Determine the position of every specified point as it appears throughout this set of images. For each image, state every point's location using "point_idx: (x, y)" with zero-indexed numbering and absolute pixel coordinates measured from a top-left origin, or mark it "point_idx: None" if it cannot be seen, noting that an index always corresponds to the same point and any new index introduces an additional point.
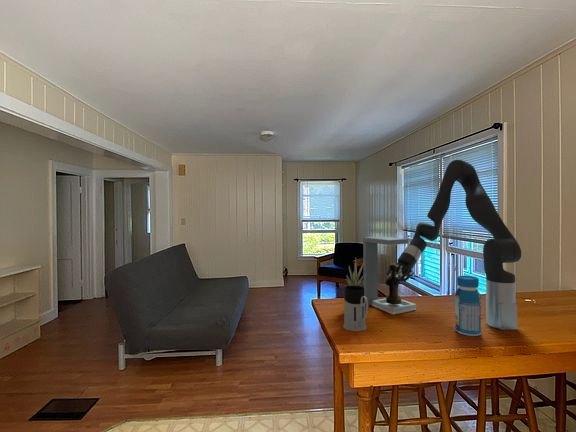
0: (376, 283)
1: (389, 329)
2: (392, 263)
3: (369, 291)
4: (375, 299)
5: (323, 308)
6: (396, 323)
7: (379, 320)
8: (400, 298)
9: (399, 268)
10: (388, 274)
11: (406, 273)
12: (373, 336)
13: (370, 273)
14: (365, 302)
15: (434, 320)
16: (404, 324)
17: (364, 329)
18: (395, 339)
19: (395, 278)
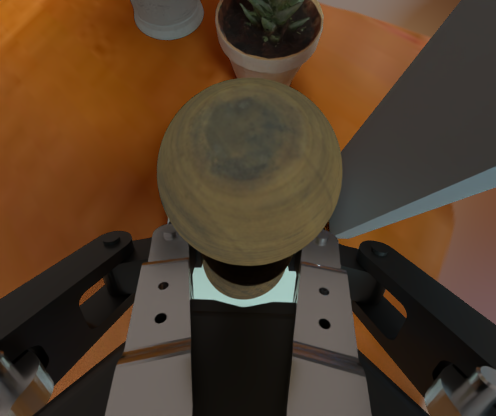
0: (387, 198)
1: (89, 74)
2: (260, 98)
3: (356, 159)
4: (337, 217)
5: (363, 29)
6: (108, 126)
7: (164, 101)
8: (207, 271)
9: (245, 393)
10: (357, 249)
11: (24, 299)
12: (87, 11)
13: (450, 79)
14: (220, 44)
15: (25, 279)
16: (83, 142)
17: (134, 18)
18: (33, 40)
19: (257, 276)
